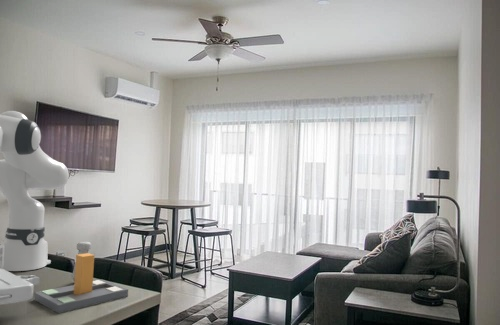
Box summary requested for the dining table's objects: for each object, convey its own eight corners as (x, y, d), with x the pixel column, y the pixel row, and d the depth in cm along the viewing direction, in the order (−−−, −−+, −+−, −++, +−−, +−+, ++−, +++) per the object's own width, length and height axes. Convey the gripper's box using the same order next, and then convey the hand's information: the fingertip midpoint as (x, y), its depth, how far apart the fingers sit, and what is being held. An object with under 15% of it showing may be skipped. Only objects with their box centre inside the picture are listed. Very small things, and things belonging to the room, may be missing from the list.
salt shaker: (83, 286, 118) (86, 244, 119) (67, 284, 119) (70, 242, 120) (94, 281, 124) (97, 241, 124) (79, 279, 125) (81, 240, 126)
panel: (34, 299, 104) (34, 291, 104) (101, 285, 120) (102, 278, 120) (58, 313, 95) (58, 304, 95) (127, 296, 111) (128, 288, 111)
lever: (73, 293, 107) (76, 254, 108) (85, 291, 110) (88, 253, 110) (79, 296, 105) (82, 256, 105) (91, 294, 108) (94, 255, 108)
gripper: (-10, 286, 81) (56, 275, 92) (-40, 268, 93) (22, 260, 104) (-12, 316, 81) (55, 301, 91) (-42, 293, 93) (20, 283, 104)
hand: (37, 279), depth 98 cm, fingers closed
